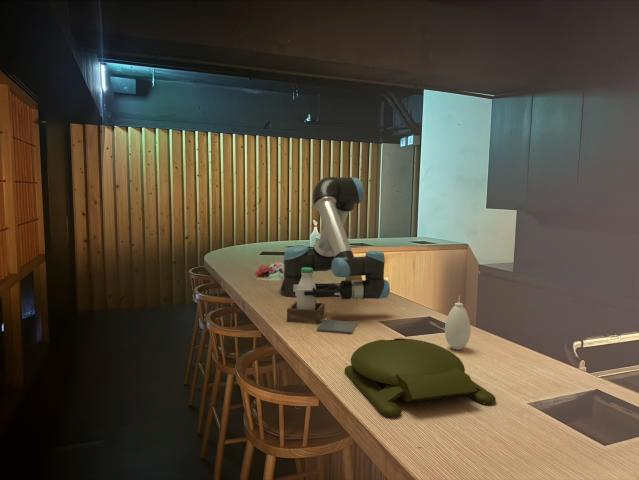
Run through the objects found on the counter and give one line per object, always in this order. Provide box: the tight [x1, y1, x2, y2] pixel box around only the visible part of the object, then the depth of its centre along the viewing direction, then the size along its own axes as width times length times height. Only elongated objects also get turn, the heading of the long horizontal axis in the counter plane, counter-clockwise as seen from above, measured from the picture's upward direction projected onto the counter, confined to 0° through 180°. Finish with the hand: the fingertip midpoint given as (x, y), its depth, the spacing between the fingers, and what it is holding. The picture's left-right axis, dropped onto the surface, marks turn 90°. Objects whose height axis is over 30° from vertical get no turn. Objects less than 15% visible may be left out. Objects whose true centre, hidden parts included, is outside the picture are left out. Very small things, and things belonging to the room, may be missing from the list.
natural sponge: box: [344, 276, 363, 281], centre depth 235 cm, size 9×9×10 cm
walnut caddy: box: [286, 300, 326, 325], centre depth 183 cm, size 12×12×5 cm
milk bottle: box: [296, 267, 317, 310], centre depth 182 cm, size 8×8×20 cm
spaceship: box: [344, 337, 496, 419], centre depth 124 cm, size 35×31×10 cm
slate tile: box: [316, 319, 357, 335], centre depth 172 cm, size 13×13×1 cm
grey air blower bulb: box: [444, 295, 471, 351], centre depth 150 cm, size 8×8×18 cm
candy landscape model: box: [254, 260, 284, 282], centre depth 269 cm, size 25×24×9 cm
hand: (294, 290), depth 181 cm, fingers closed on milk bottle, 8 cm apart
